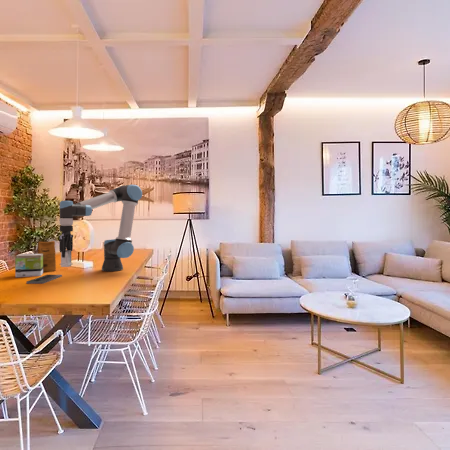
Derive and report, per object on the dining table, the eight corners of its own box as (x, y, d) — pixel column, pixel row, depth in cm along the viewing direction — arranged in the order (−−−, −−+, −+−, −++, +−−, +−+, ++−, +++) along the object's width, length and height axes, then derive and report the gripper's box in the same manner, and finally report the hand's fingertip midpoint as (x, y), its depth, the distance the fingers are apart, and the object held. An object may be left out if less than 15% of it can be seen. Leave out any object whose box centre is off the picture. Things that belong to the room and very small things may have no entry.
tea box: (15, 277, 210) (14, 255, 209) (18, 275, 219) (18, 253, 219) (41, 276, 215) (40, 254, 215) (43, 273, 225) (43, 252, 224)
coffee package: (35, 270, 236) (35, 241, 235) (54, 269, 243) (54, 240, 242) (37, 272, 228) (36, 242, 227) (56, 271, 235) (56, 241, 234)
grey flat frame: (47, 276, 214) (47, 274, 214) (62, 276, 214) (62, 274, 214) (26, 284, 192) (26, 281, 192) (42, 284, 192) (42, 281, 192)
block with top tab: (62, 265, 204) (62, 250, 204) (73, 265, 204) (73, 250, 204) (58, 266, 200) (58, 250, 199) (70, 266, 200) (70, 251, 199)
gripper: (67, 224, 210) (67, 260, 211) (52, 225, 193) (52, 263, 193) (78, 224, 210) (78, 260, 211) (65, 225, 192) (65, 264, 193)
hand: (66, 261), depth 202 cm, fingers closed on block with top tab, 4 cm apart
